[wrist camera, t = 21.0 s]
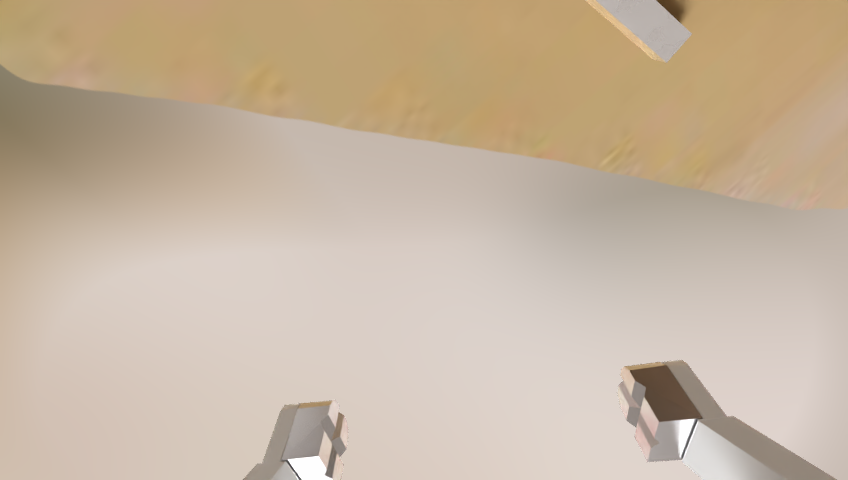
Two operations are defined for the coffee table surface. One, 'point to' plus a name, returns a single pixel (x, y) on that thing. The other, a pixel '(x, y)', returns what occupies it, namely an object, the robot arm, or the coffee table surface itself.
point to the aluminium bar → (645, 25)
